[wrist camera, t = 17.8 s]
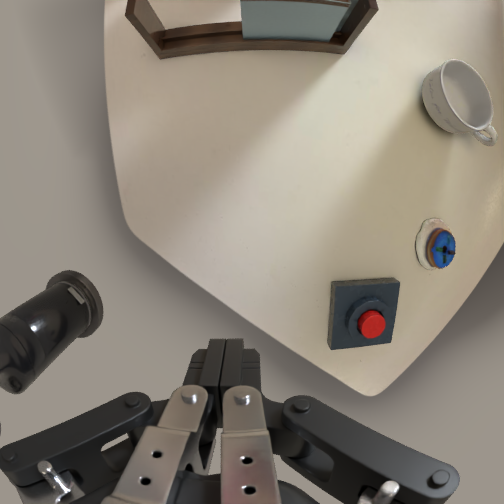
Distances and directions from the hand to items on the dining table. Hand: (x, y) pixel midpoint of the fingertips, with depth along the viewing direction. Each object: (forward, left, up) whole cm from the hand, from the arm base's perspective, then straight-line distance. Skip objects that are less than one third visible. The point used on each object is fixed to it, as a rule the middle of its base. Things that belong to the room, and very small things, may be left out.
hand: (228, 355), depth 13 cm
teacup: (+32, +20, -27) cm, 47 cm away
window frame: (+2, +29, -27) cm, 40 cm away
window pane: (+7, +28, -25) cm, 38 cm away
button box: (+17, -11, -27) cm, 34 cm away
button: (+17, -11, -23) cm, 31 cm away
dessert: (+29, -1, -27) cm, 40 cm away
